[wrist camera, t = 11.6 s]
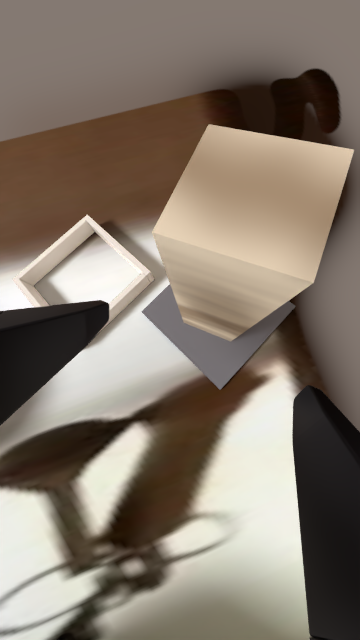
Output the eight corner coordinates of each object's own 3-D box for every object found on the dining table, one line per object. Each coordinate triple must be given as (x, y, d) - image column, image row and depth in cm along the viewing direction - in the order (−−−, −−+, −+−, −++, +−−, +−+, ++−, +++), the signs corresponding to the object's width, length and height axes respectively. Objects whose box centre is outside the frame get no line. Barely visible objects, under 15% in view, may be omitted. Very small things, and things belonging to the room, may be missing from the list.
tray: (154, 279, 20) (150, 271, 19) (79, 351, 19) (68, 349, 17) (95, 226, 23) (87, 214, 21) (26, 286, 22) (12, 279, 20)
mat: (293, 307, 18) (295, 306, 18) (219, 389, 17) (220, 389, 17) (211, 245, 21) (211, 243, 20) (142, 312, 20) (141, 311, 19)
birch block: (230, 341, 17) (314, 283, 5) (183, 322, 18) (151, 232, 6) (247, 296, 18) (354, 149, 6) (202, 280, 19) (209, 124, 7)
